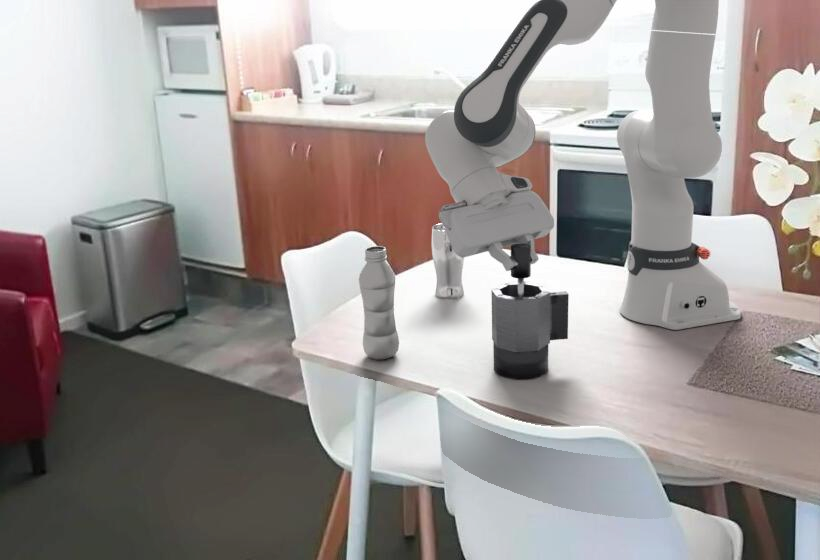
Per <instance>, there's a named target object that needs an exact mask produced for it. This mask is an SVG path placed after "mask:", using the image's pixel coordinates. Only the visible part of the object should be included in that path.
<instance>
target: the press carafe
mask: <svg viewBox="0 0 820 560" xmlns="http://www.w3.org/2000/svg"><path fill="white" fill-rule="evenodd" d="M568 337H569V293H568V291H555V292H554V291H553V292H551V291H550V290H549V289H548V287H547V286H546V285H545V284H540V283H535V282H531V281H526V280H524V297H522V298H518V281H514V282H502V283H501V284H499V285H497V286H495V287H493V288H491V339H492V342H493V343H492V344H493V345H492V346H493V348H492V349H493V371H494V373H496V375H499V376H500V377H503V378H506V379H510V380H515V381H516V380H517V381H520V380H521V381H527V380H534V379H537V378H541V377H543V376H544V375H546V374H547V373H548V371H549V345H550V343H551V341H557V340H568Z"/></svg>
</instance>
